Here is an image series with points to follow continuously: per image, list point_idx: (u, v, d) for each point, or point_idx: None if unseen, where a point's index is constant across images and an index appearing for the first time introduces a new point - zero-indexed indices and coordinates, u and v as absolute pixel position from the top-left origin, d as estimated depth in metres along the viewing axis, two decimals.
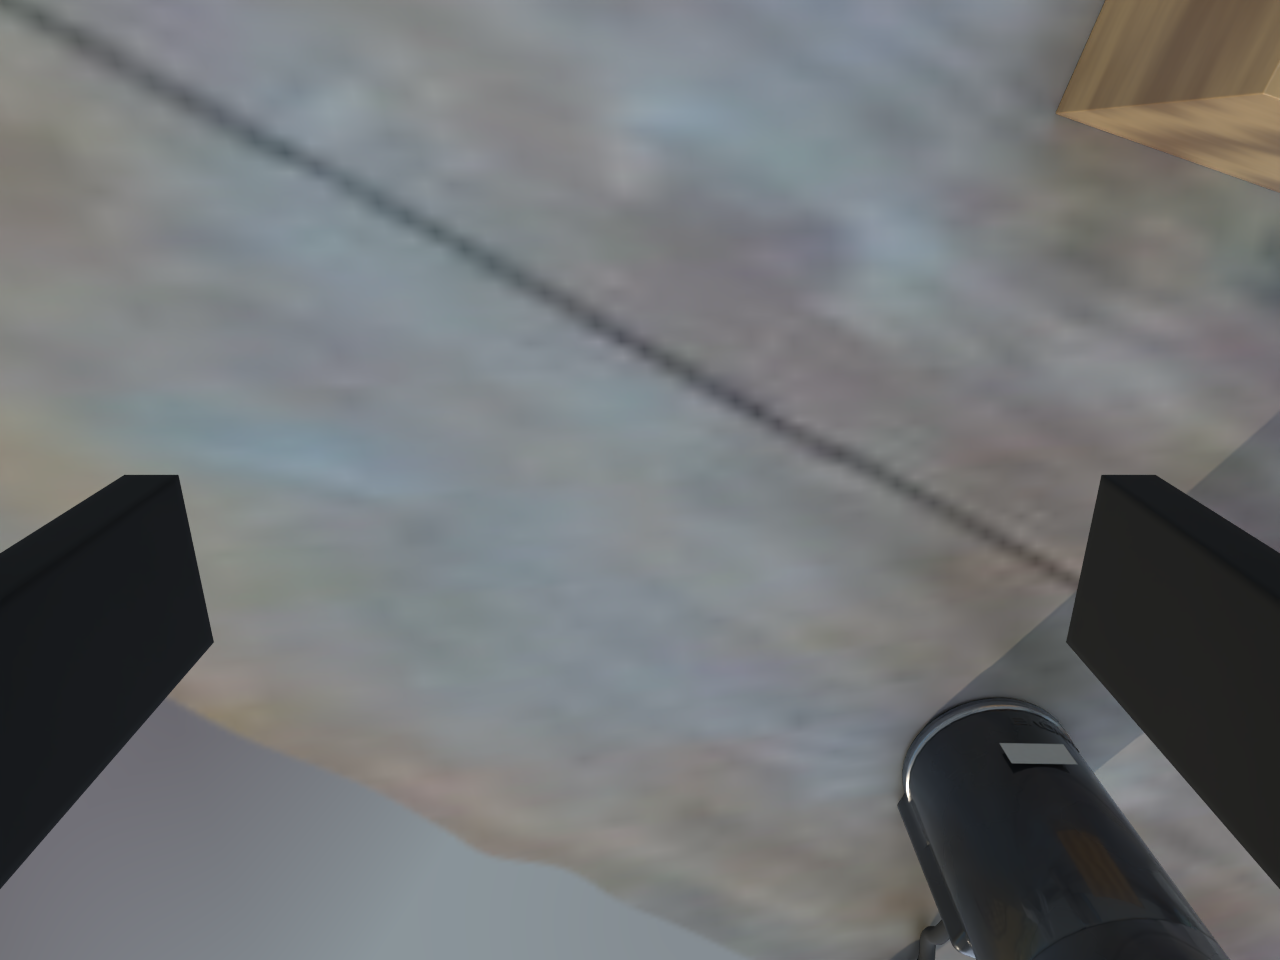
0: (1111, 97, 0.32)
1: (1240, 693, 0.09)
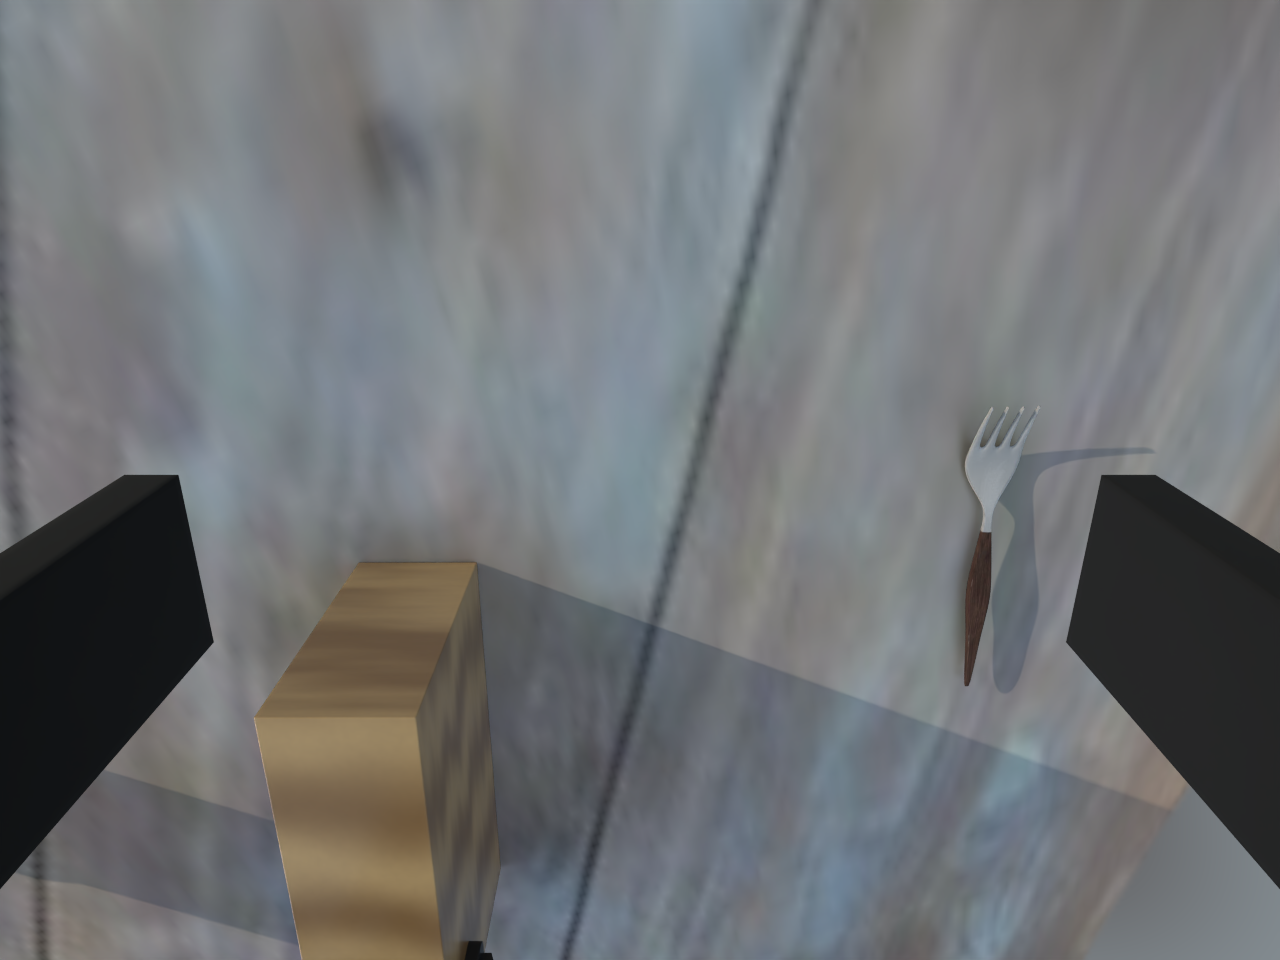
0: (339, 603, 0.40)
1: (1240, 693, 0.09)
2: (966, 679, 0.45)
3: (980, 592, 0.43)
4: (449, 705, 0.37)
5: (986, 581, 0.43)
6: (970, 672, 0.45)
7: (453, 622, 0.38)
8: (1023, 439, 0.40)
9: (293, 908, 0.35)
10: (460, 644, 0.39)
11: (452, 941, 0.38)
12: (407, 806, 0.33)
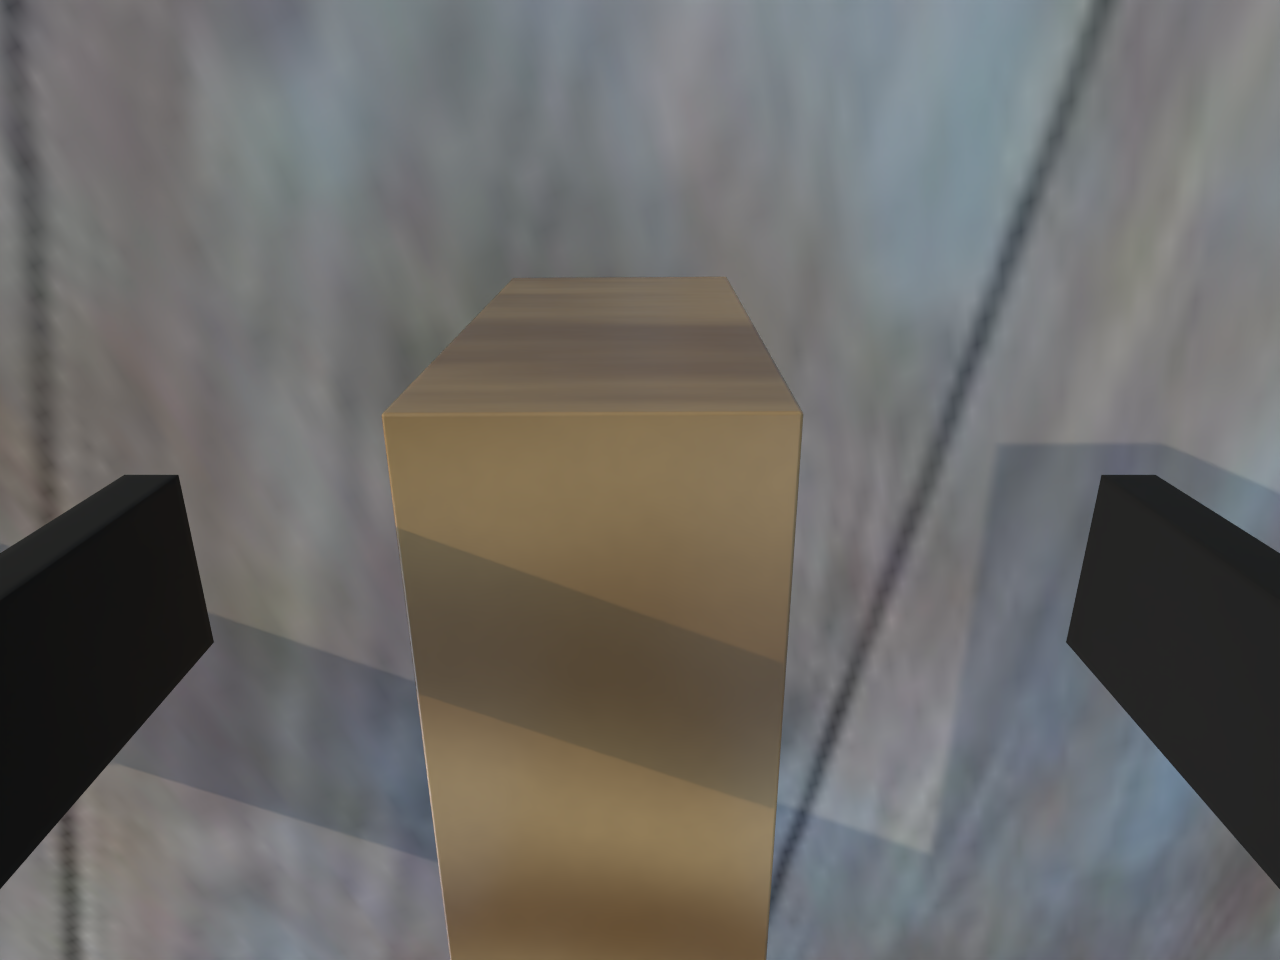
0: (502, 304, 0.20)
1: (1240, 693, 0.09)
2: None
3: None
4: None
5: None
6: None
7: None
8: None
9: (448, 904, 0.16)
10: None
11: None
12: (741, 660, 0.14)
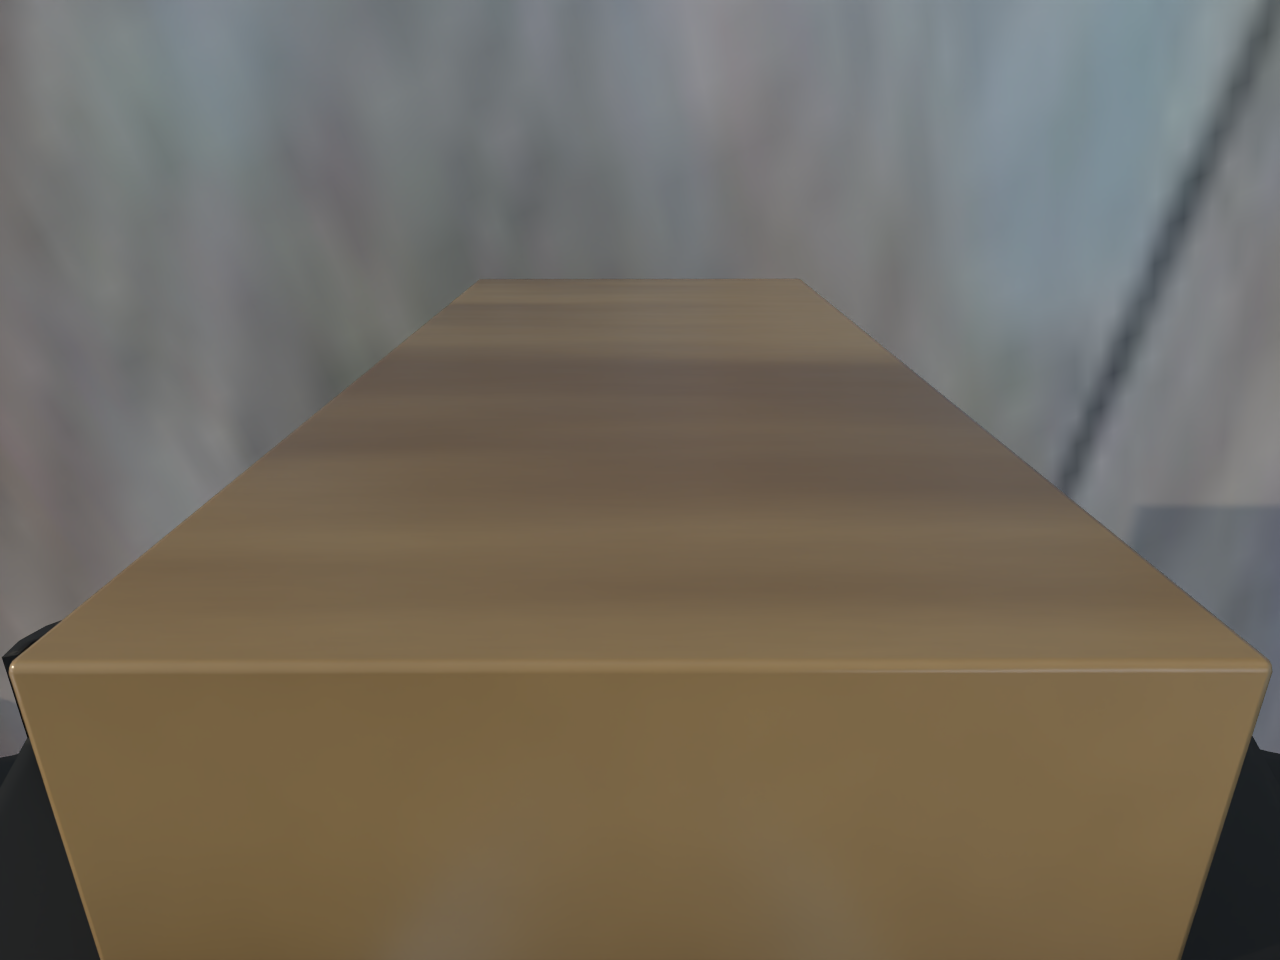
0: (453, 321, 0.12)
1: None
2: None
3: None
4: None
5: None
6: None
7: None
8: None
9: None
10: None
11: None
12: None
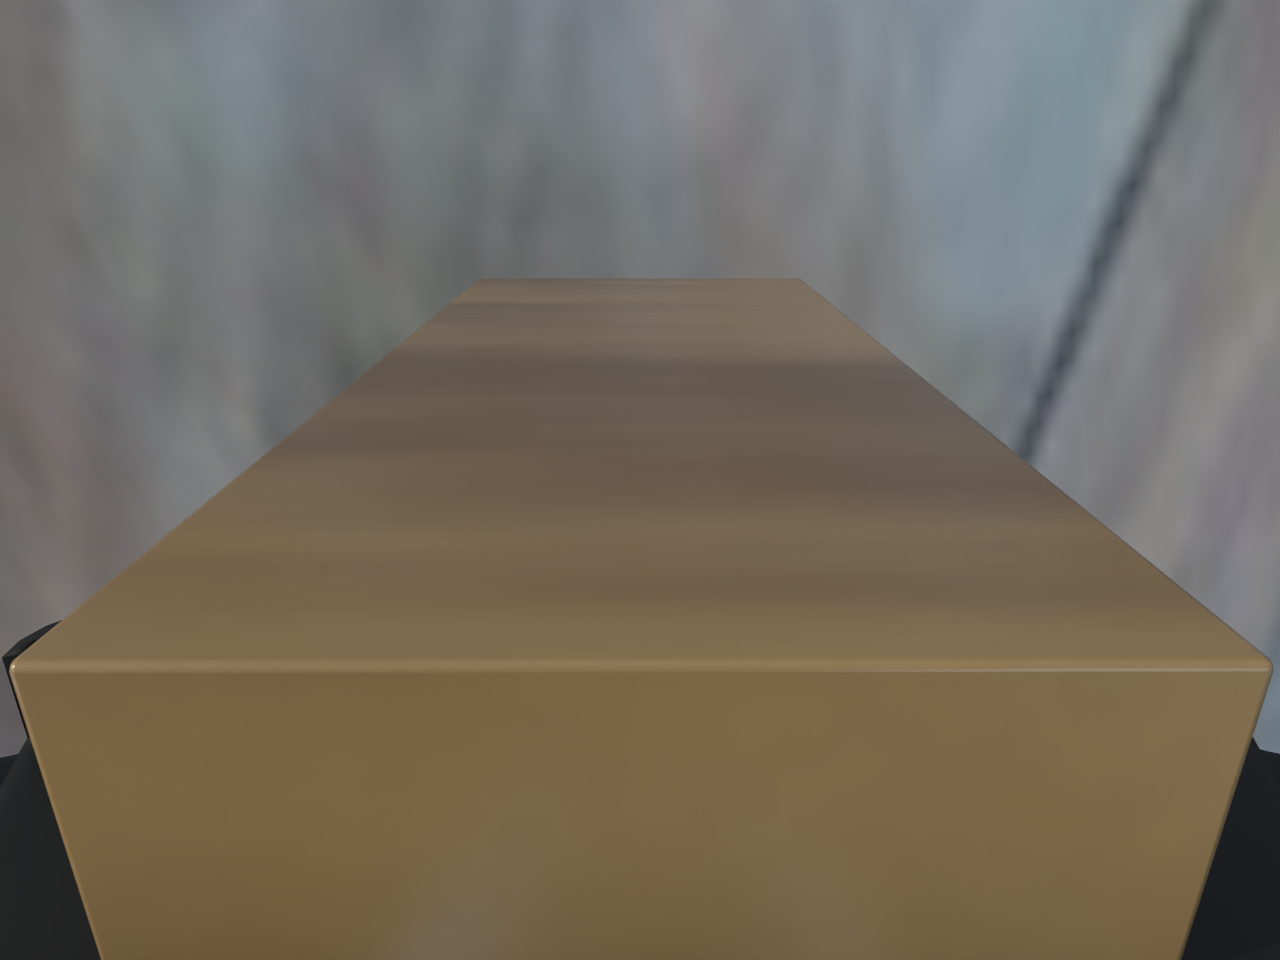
0: (453, 321, 0.12)
1: None
2: None
3: None
4: None
5: None
6: None
7: None
8: None
9: None
10: None
11: None
12: None
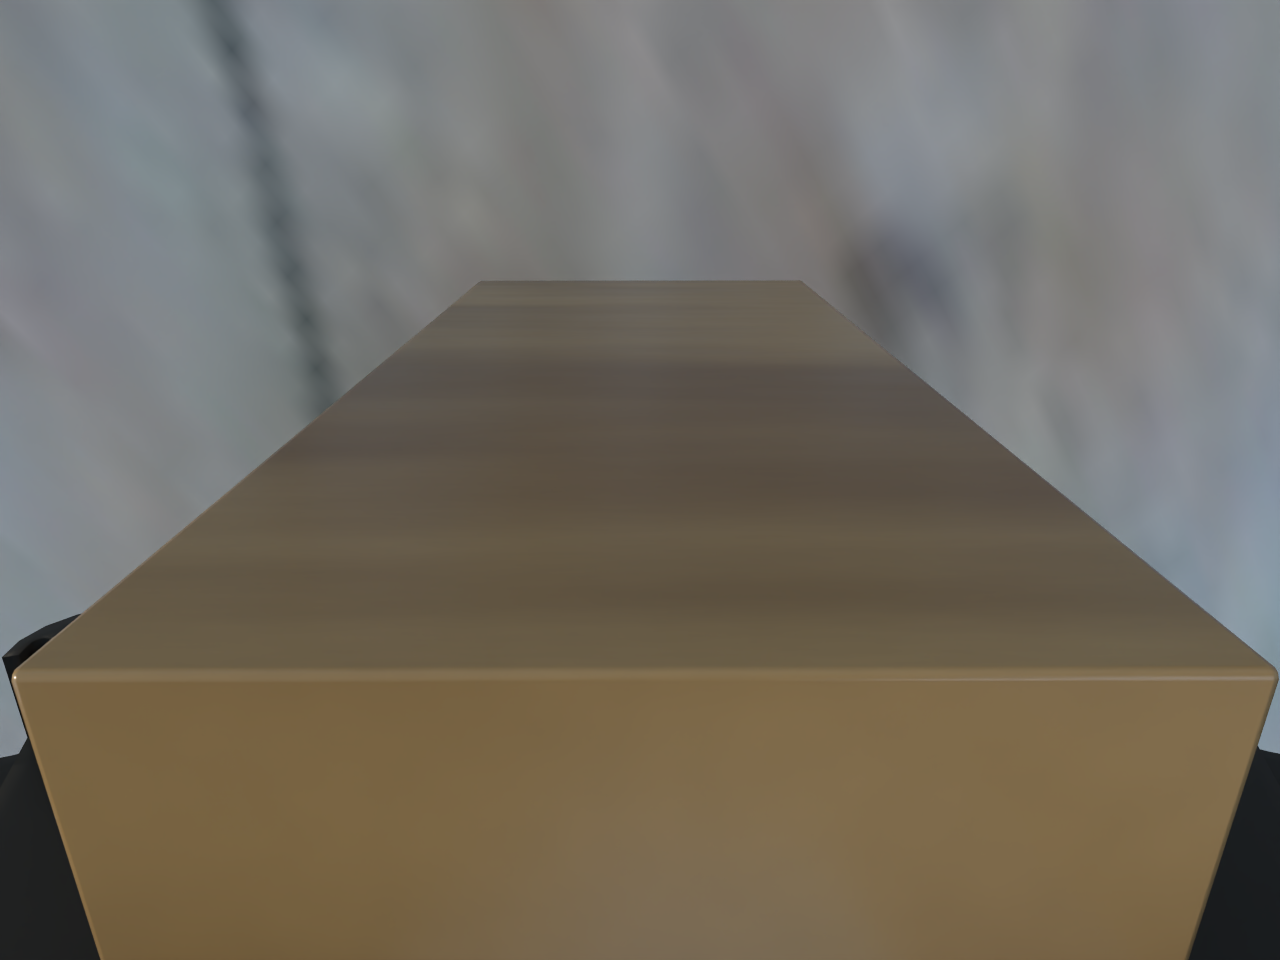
0: (454, 324, 0.12)
1: None
2: None
3: None
4: None
5: None
6: None
7: None
8: None
9: None
10: None
11: None
12: None
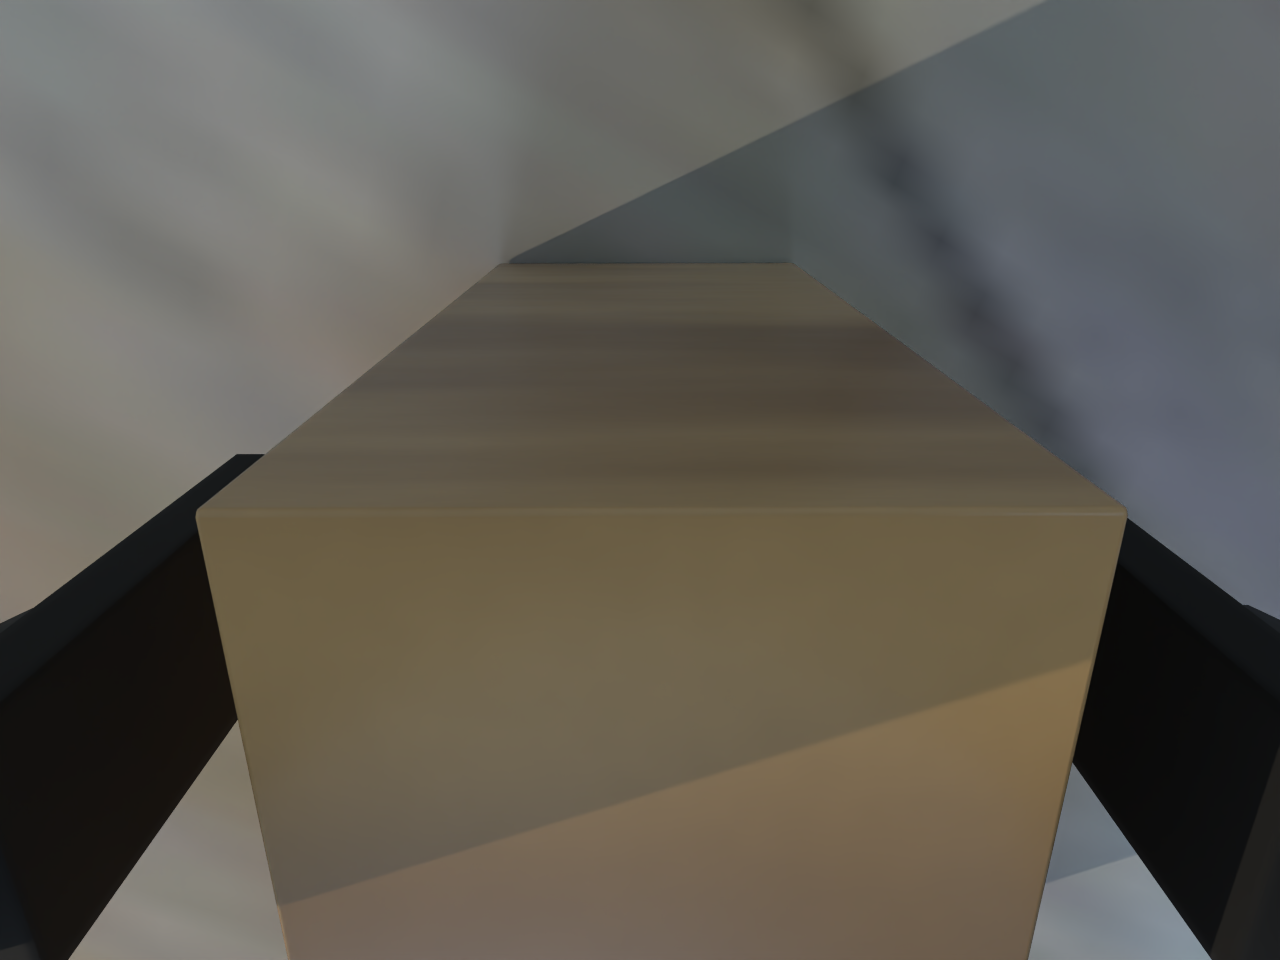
0: (482, 296, 0.13)
1: None
2: None
3: None
4: None
5: None
6: None
7: None
8: None
9: None
10: None
11: None
12: None
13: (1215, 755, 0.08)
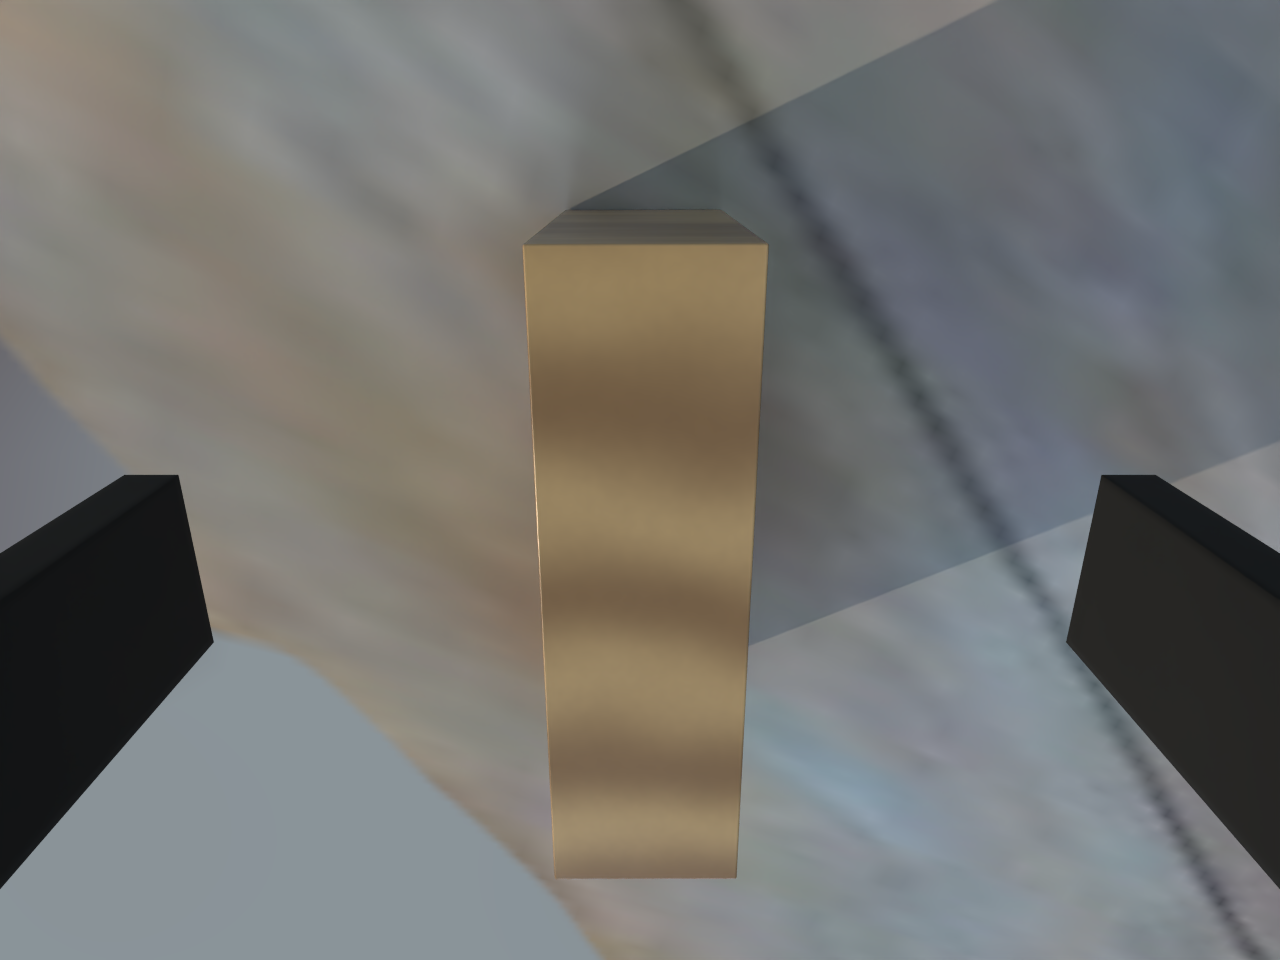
0: (566, 218, 0.29)
1: (1240, 693, 0.09)
2: None
3: None
4: None
5: None
6: None
7: (737, 223, 0.27)
8: None
9: (543, 586, 0.24)
10: None
11: None
12: (732, 407, 0.22)
13: None
